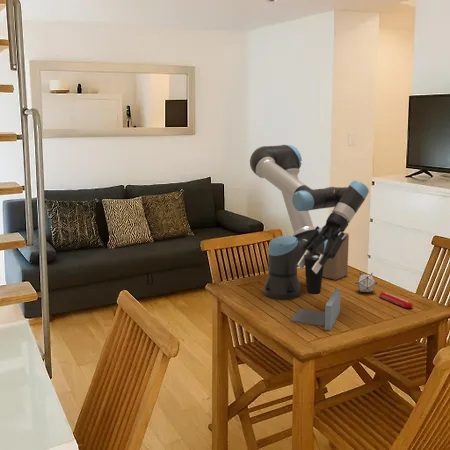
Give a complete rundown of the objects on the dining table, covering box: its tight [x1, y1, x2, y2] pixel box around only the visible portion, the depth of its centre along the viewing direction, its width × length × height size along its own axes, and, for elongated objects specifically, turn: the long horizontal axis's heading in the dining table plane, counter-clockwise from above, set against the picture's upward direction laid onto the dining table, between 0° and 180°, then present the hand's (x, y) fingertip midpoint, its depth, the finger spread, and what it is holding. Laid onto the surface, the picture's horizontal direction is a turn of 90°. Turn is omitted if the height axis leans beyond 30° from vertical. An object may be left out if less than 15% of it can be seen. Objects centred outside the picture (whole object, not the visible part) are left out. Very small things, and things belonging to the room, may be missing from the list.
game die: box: [354, 272, 378, 294], centre depth 231 cm, size 9×8×10 cm
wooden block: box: [322, 231, 350, 281], centre depth 251 cm, size 10×10×20 cm
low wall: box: [324, 288, 342, 331], centre depth 202 cm, size 2×18×9 cm, turn 158°
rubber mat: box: [290, 308, 325, 327], centre depth 206 cm, size 12×12×1 cm
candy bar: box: [378, 291, 414, 309], centre depth 220 cm, size 16×4×3 cm, turn 29°
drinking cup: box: [304, 238, 324, 295], centre depth 200 cm, size 8×8×20 cm
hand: (306, 269), depth 198 cm, fingers closed on drinking cup, 7 cm apart
